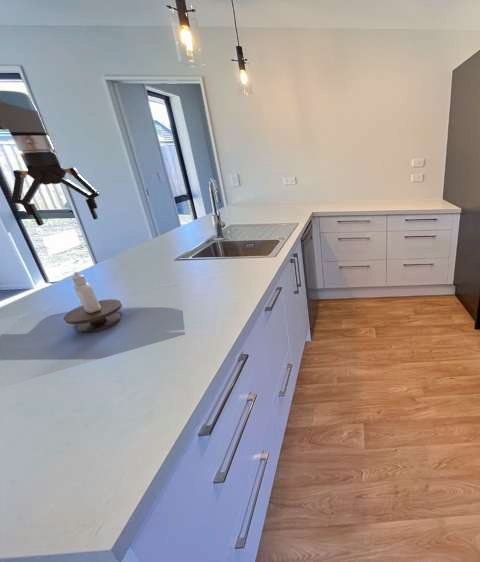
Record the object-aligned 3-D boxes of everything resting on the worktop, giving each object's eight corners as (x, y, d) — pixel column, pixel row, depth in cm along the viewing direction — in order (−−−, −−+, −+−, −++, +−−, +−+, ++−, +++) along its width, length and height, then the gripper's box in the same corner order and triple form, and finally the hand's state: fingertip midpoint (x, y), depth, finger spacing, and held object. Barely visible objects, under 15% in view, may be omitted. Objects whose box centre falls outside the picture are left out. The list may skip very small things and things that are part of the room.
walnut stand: (66, 341, 83) (57, 326, 80) (76, 321, 93) (69, 307, 90) (124, 326, 89) (118, 312, 87) (128, 308, 99) (123, 295, 97)
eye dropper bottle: (80, 315, 86) (60, 277, 80) (87, 307, 90) (69, 270, 85) (99, 312, 87) (81, 274, 82) (105, 303, 92) (89, 267, 87)
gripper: (-31, 153, 81) (11, 230, 90) (89, 150, 93) (115, 218, 102) (-18, 153, 87) (20, 225, 96) (93, 150, 99) (118, 214, 108)
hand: (69, 221), depth 99 cm, fingers open, 13 cm apart
